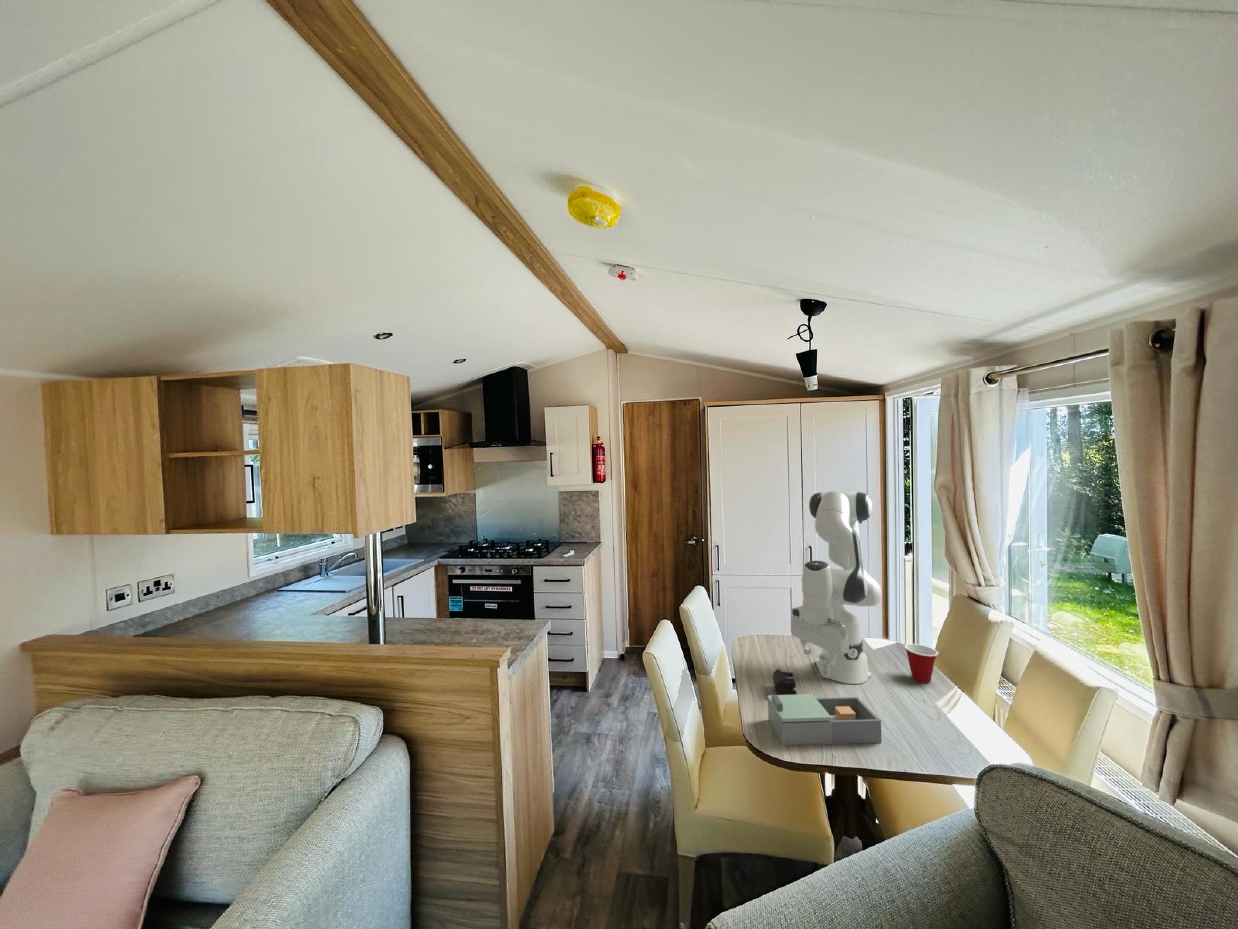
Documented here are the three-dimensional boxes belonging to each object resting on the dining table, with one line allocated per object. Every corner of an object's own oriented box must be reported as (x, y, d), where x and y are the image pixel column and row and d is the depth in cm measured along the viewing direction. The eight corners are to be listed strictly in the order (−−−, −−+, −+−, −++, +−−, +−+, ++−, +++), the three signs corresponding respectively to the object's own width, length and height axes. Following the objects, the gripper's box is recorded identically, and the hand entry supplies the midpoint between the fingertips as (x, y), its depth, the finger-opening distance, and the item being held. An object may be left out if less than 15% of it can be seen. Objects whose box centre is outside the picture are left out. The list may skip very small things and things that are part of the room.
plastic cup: (942, 688, 178) (941, 655, 178) (908, 684, 182) (907, 652, 182) (935, 675, 188) (934, 644, 188) (903, 672, 192) (902, 641, 192)
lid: (767, 698, 161) (767, 688, 161) (812, 697, 161) (812, 687, 161) (782, 722, 146) (781, 711, 146) (831, 720, 146) (831, 710, 146)
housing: (768, 719, 161) (767, 699, 161) (858, 716, 161) (857, 697, 161) (782, 745, 146) (782, 723, 146) (881, 742, 146) (880, 720, 146)
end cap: (772, 686, 184) (772, 668, 184) (792, 687, 183) (792, 669, 183) (775, 699, 175) (774, 680, 175) (796, 700, 173) (795, 681, 173)
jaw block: (835, 724, 156) (834, 706, 156) (849, 723, 156) (849, 706, 156) (841, 731, 151) (841, 714, 151) (856, 731, 151) (855, 713, 151)
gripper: (853, 622, 145) (854, 669, 145) (801, 605, 164) (802, 647, 164) (837, 625, 142) (839, 673, 142) (786, 608, 161) (787, 650, 161)
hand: (819, 659), depth 153 cm, fingers open, 8 cm apart
